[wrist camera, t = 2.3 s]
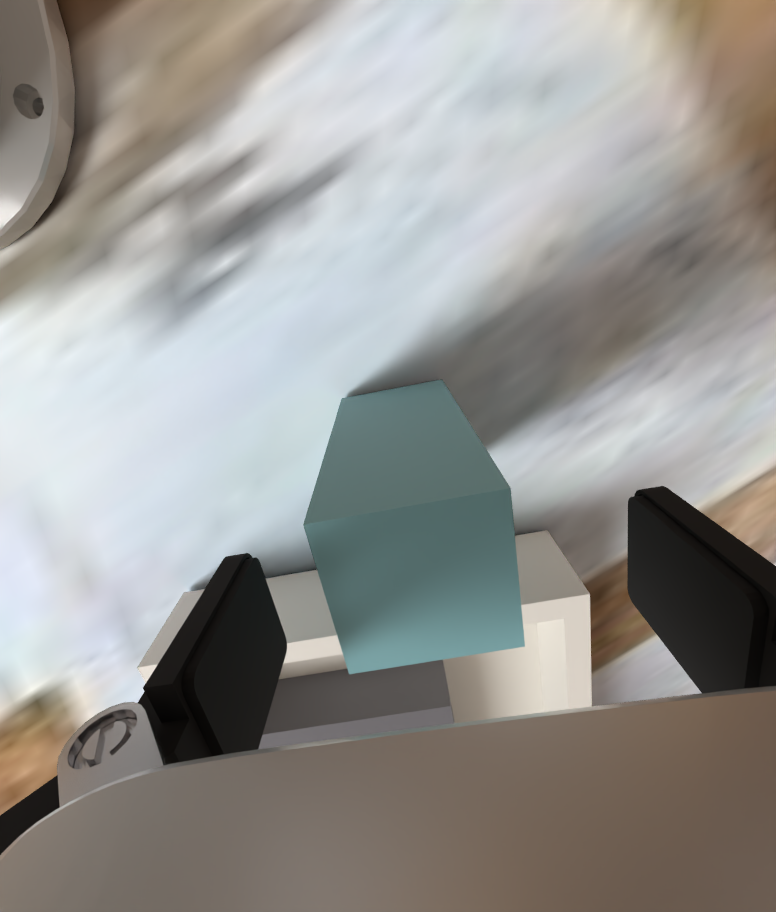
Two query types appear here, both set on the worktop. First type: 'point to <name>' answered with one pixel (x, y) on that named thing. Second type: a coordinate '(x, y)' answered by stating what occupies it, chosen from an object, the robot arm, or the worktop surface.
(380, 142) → the worktop surface
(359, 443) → the peg
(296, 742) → the walled box
